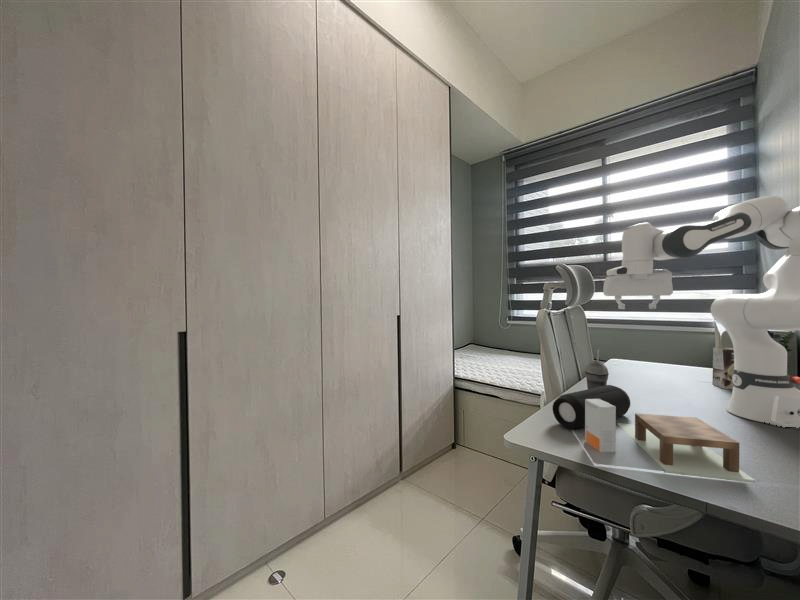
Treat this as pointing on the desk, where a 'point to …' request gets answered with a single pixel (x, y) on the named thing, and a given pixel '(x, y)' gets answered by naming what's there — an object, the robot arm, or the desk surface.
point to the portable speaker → (573, 404)
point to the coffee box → (723, 367)
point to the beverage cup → (596, 374)
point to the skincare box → (600, 425)
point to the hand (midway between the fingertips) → (636, 308)
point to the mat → (687, 458)
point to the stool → (686, 437)
